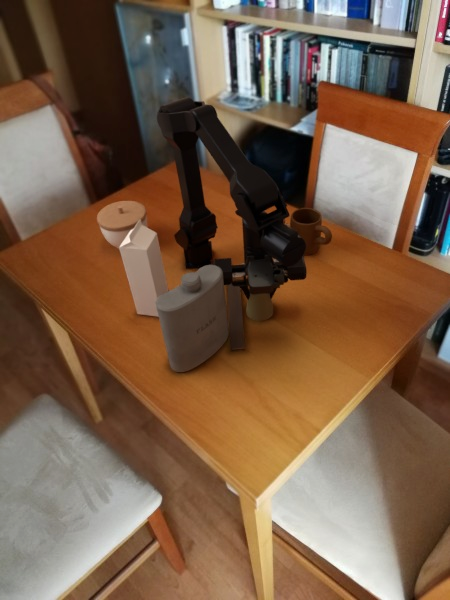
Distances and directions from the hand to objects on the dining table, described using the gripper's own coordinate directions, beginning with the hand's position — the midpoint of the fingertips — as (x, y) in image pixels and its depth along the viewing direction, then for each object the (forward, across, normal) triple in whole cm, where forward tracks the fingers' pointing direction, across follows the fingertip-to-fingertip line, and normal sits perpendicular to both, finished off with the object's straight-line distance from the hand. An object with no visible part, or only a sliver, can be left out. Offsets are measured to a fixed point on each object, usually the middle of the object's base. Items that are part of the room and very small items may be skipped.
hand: (259, 298), depth 103 cm
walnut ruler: (+4, -5, 0) cm, 7 cm away
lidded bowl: (+4, -33, +30) cm, 45 cm away
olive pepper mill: (+4, 0, 0) cm, 4 cm away
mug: (+4, +14, +20) cm, 25 cm away
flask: (+4, -13, -10) cm, 17 cm away
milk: (+4, -24, +4) cm, 25 cm away
